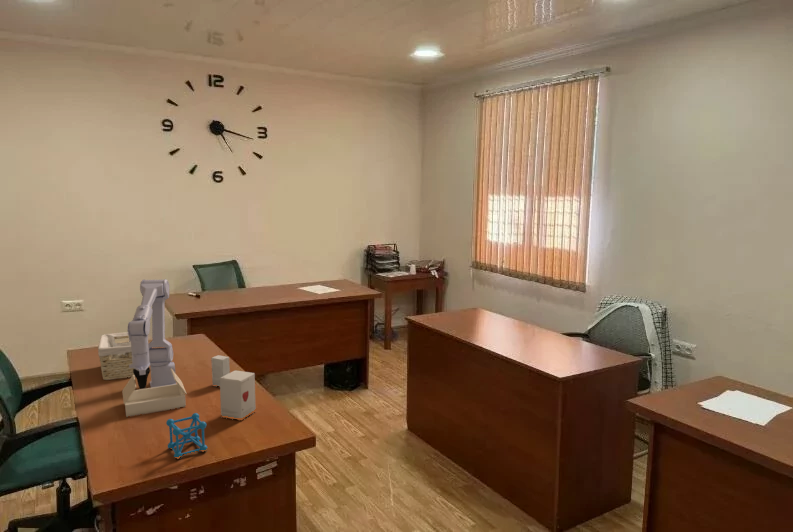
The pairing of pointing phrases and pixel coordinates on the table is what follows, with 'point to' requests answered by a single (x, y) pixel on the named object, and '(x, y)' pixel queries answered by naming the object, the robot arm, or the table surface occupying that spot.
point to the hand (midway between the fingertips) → (142, 387)
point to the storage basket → (115, 356)
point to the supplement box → (237, 394)
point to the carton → (155, 400)
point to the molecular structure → (186, 434)
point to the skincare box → (219, 368)
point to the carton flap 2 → (178, 381)
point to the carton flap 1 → (129, 389)
